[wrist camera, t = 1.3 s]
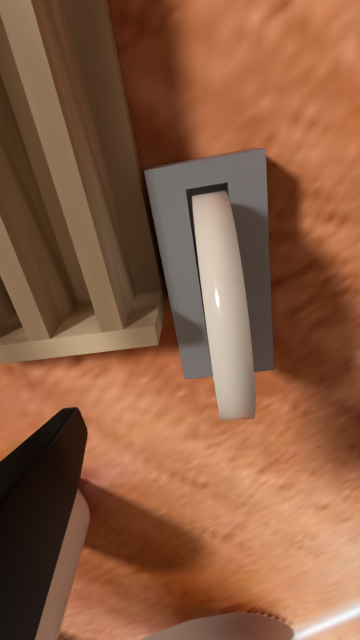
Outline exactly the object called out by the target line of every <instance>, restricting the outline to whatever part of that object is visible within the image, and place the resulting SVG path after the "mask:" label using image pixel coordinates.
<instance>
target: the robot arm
mask: <svg viewBox="0 0 360 640" xmlns="http://www.w3.org/2000/svg"><path fill="white" fill-rule="evenodd" d="M87 434H88V433H87V427H86V425H85V422H84V420H83V417H82V415H81V412H80V410H79V409H78V408H76V407H71V408H64V409H62V410H60V411H59V412H58V413H57V414H56V415H55V416H53V417H52V418H51V419H50V420H49V421H47V422H46V423H45V424H44V425H43V426H42V427H40V428H39V429H38V430H37V431H36V432H35V433H33V434H32V435H31V436H30V437H29V438H28V439H26V440H25V441H24V442H23V443H22V444H21V445H19V446H18V447H17V448H16V449H15V450H14V451H12V452H11V453H10V454H9V455H8V456H7V457H5V458H4V459H3V460H2V461H1V462H0V640H35V638H36V634H37V631H38V627H39V624H40V620H41V617H42V613H43V610H44V606H45V603H46V599H47V596H48V593H49V589H50V586H51V582H52V579H53V575H54V572H55V568H56V565H57V561H58V558H59V554H60V551H61V547H62V544H63V540H64V537H65V533H66V530H67V526H68V523H69V519H70V516H71V512H72V509H73V505H74V502H75V498H76V494H77V491H78V486H79V481H80V476H81V470H82V464H83V459H84V453H85V447H86V442H87Z"/></svg>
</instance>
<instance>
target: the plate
mask: <svg viewBox="0 0 360 640" xmlns="http://www.w3.org/2000/svg"><path fill="white" fill-rule="evenodd" d="M192 204H193V217H194V227H195V236H196V245H197V254H198V263H199V271H200V280H201V288H202V296H203V304H204V312H205V319H206V327H207V335H208V342H209V349H210V357H211V364H212V371H213V378H214V385H215V391H216V398H217V404H218V410H219V415H220V420H221V422H225V421H236V420H247V419H254V417H255V380H254V366H253V354H252V344H251V334H250V325H249V316H248V308H247V300H246V292H245V285H244V278H243V271H242V264H241V258H240V251H239V245H238V239H237V234H236V228H235V223H234V218H233V214H232V209H231V205H230V201H229V198H228V195H227V193H226V191H219V192H213V193H207V194H201V195H195V196H192Z"/></svg>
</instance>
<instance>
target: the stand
mask: <svg viewBox="0 0 360 640" xmlns="http://www.w3.org/2000/svg"><path fill="white" fill-rule="evenodd" d="M144 174H145V179H146V184H147V189H148V194H149V199H150V204H151V209H152V215H153V220H154V225H155V230H156V235H157V240H158V245H159V250H160V255H161V260H162V266H163V271H164V276H165V281H166V286H167V291H168V296H169V301H170V306H171V311H172V317H173V322H174V327H175V332H176V337H177V342H178V347H179V352H180V357H181V362H182V367H183V373H184V378H185V379H193V378H202V377H211V376H213V371H212V364H211V357H210V349H209V342H208V335H207V327H206V319H205V312H204V304H203V296H202V288H201V280H200V271H199V263H198V254H197V245H196V236H195V227H194V217H193V204H192V196H195V195H201V194H207V193H213V192H219V191H226V193H227V195H228V198H229V201H230V205H231V209H232V214H233V218H234V223H235V228H236V234H237V239H238V245H239V251H240V258H241V264H242V271H243V278H244V285H245V292H246V300H247V308H248V316H249V325H250V334H251V344H252V354H253V366H254V372H258V371H267V370H274V354H273V328H272V302H271V276H270V250H269V225H268V199H267V173H266V149H261V148H253V149H247V150H242V151H236V152H231V153H225V154H219V155H214V156H208V157H203V158H197V159H192V160H186V161H181V162H175V163H169V164H164V165H158V166H153V167H150V168H148V169H146V170H144Z"/></svg>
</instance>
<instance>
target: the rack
mask: <svg viewBox="0 0 360 640" xmlns="http://www.w3.org/2000/svg"><path fill="white" fill-rule="evenodd" d="M166 300H167V298H166V293H165V288H164V283H163V278H162V273H161V268H160V263H159V258H158V253H157V248H156V243H155V238H154V233H153V228H152V223H151V218H150V213H149V208H148V203H147V198H146V193H145V188H144V183H143V178H142V173H141V168H140V163H139V158H138V153H137V148H136V143H135V138H134V133H133V128H132V123H131V118H130V113H129V108H128V103H127V98H126V92H125V87H124V82H123V77H122V72H121V67H120V62H119V57H118V52H117V47H116V42H115V37H114V32H113V27H112V22H111V17H110V12H109V7H108V2H107V0H0V364H5V363H14V362H22V361H30V360H39V359H47V358H55V357H64V356H72V355H81V354H89V353H97V352H106V351H114V350H122V349H131V348H139V347H147V346H156V345H159V340H160V335H161V329H162V323H163V317H164V312H165V306H166Z"/></svg>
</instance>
